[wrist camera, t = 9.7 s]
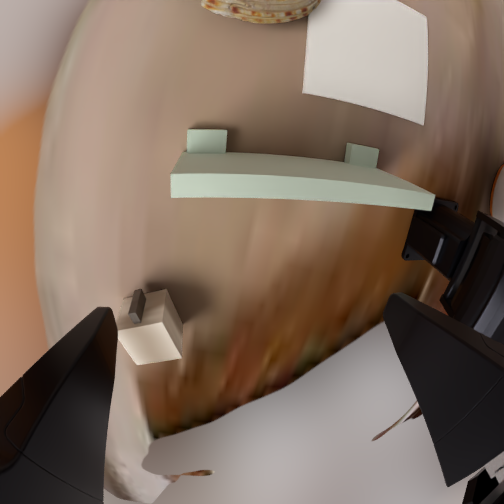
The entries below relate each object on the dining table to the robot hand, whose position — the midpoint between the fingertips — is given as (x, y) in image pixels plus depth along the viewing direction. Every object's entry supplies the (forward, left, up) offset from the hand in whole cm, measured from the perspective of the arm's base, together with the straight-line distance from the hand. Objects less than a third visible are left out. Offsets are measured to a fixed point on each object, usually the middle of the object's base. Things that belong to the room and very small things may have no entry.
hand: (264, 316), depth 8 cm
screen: (-4, -3, -12) cm, 13 cm away
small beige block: (+6, +10, -12) cm, 17 cm away
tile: (-10, -13, -12) cm, 20 cm away
